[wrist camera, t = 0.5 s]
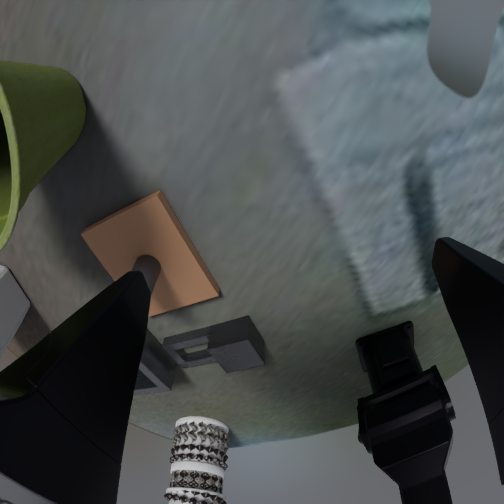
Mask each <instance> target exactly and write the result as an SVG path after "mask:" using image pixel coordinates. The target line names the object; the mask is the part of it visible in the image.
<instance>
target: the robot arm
mask: <svg viewBox="0 0 504 504" xmlns="http://www.w3.org/2000/svg"><path fill="white" fill-rule="evenodd" d="M432 268H433V271H434V274H435V277H436V279H437V282H438V285H439V288H440V291H441V294H442V297H443V300H444V302H445V305H446V308H447V310H448V313H449V315H450V317H451V320H452V322H453V324H454V327H455V329H456V332H457V334H458V336H459V339H460V341H461V344H462V347H463V349H464V352H465V354H466V357H467V360H468V362H469V365H470V368H471V370H472V374H473V376H474V379H475V382H476V385H477V388H478V391H479V395H480V398H481V401H482V404H483V407H484V411H485V414H486V418H487V422H488V424H489V430H490V434H491V438H492V442H493V446H494V450H495V455H496V459H497V464H498V470H499V475H500V480H501V484H502V485H504V264H503V263H501V262H499V261H497V260H495V259H493V258H491V257H489V256H487V255H485V254H483V253H481V252H479V251H477V250H475V249H473V248H471V247H469V246H467V245H465V244H462V243H460V242H458V241H456V240H454V239H452V238H450V237H443V238H438V239H437V240H436V242H435V247H434V252H433V257H432ZM150 301H151V293H150V290H149V287H148V285H147V282H146V280H145V277H144V275H143V273H142V271H140V270H135V271H128V272H127V273H125V274H124V275H123V276H121V277H120V278H119V279H117V280H116V281H115V282H113V283H112V284H111V285H110V286H108V287H107V288H106V289H104V290H103V291H102V292H100V293H99V294H98V295H97V296H95V297H94V298H93V299H91V300H90V301H89V302H88V303H86V304H85V305H84V306H83V307H81V308H80V309H79V310H78V311H76V312H75V313H74V314H73V315H71V316H70V317H69V318H68V319H66V320H65V321H64V322H63V323H61V324H60V325H59V326H58V327H57V328H55V329H54V330H53V331H52V332H51V334H48V335H47V336H46V337H44V338H43V339H42V340H41V341H39V342H38V343H37V344H36V345H35V346H33V347H32V348H31V349H30V350H28V351H27V352H26V353H24V354H23V355H22V356H21V357H19V358H18V359H17V360H15V361H14V362H13V363H11V364H10V365H9V366H7V367H6V368H5V369H3V370H2V371H1V372H0V504H116V502H117V493H118V486H119V478H120V470H121V462H122V455H123V450H124V443H125V437H126V431H127V426H128V420H129V415H130V410H131V404H132V399H133V394H134V389H135V384H136V380H137V375H138V370H139V366H140V361H141V357H142V353H143V348H144V344H145V339H146V332H147V324H148V316H149V309H150ZM356 345H357V349H358V353H359V357H360V361H361V364H362V368H363V372H367V373H368V376H369V380H370V384H371V388H372V392H373V394H372V395H369V396H367V397H364V398H363V397H362V398H359V399H358V406H357V411H358V421H359V432H358V440H359V442H360V443H362V444H364V446H365V447H366V450H367V451H368V453H370V454H371V453H372V455H373V459H374V462H375V464H376V465H377V466H378V467H379V468H380V469H381V470H382V471H384V472H385V473H386V474H387V475H388V476H389V477H390V478H391V479H392V480H393V481H395V482H396V483H397V484H398V486H399V490H400V495H401V500H402V504H452V500H451V495H450V490H449V486H448V482H447V477H446V474H445V468H446V465H447V462H448V458H449V455H450V451H451V448H452V444H453V429H452V426H451V423H450V421H452V420H453V419H455V418H456V417H455V412H454V409H453V405H452V402H451V399H450V397H449V394H448V392H447V389H446V387H445V385H444V382H443V380H442V378H441V376H440V373H439V371H438V369H437V367H436V365H434V366H432V367H431V368H430V369H428V370H426V371H423V370H422V367H421V365H420V362H419V359H418V357H417V354H416V352H415V350H414V330H413V323H412V322H411V321H407V322H405V323H402V324H399V325H397V326H394V327H391V328H388V329H386V330H383V331H380V332H377V333H374V334H371V335H368V336H365V337H362V338H359V339H357V340H356Z"/></svg>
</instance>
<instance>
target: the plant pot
mask: <svg viewBox="0 0 504 504" xmlns="http://www.w3.org/2000/svg"><path fill="white" fill-rule="evenodd" d="M85 117H86V106H85V102H84V98H83V94H82V90H81V86H80V84H79V83H78V81H77V80H76V79H75V78H74V77H73V76H72V75H71V74H70V73H69V72H67V71H65V70H63V69H60V68H55V67H50V66H43V65H35V64H27V63H20V62H12V61H1V60H0V251H1V250H2V249H3V248H4V246H5V245H6V244H7V242H8V240H9V239H10V237H11V235H12V232H13V230H14V227H15V224H16V221H17V217H18V213H19V211H20V210H21V208H22V207H23V205H24V204H25V202H26V200H27V198H28V196H29V193H30V192H31V191H32V190H33V189H34V188H35V186H36V185H37V184H38V183H39V182H40V180H41V179H42V178H43V177H44V176H45V175H46V174H47V172H48V171H49V170H50V169H51V168H52V167H53V166H54V165H55V164H56V163H57V162H58V161H59V160H60V159H61V157H62V156H63V155H64V154H65V153H66V152H67V151H68V150H69V149H70V148H71V147H72V146H73V145H74V144H75V142H76V141H77V139H78V138H79V136H80V134H81V132H82V129H83V126H84V122H85Z"/></svg>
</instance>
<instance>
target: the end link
mask: <svg viewBox="0 0 504 504" xmlns="http://www.w3.org/2000/svg"><path fill="white" fill-rule="evenodd" d="M176 363H177V362H176V361H175V360H174V359H173V358H172V357H171V356H170V355H169V353H168V352H167V351H166V350H165V349H164V348H163V347H162V345H161V344H160V343H159V341H158V340H157V339H156V338H155V337H154V336H153V335H152V334H151V332H150V331H149V330H148V329H147V332H146V339H145V344H144V348H143V353H142V357H141V361H140V366H139V370H138V375H137V380H136V384H135V389H134V394H133V395H142V394H150V393H158V392H165V391H171V389H172V383H173V378H174V373H175V368H176Z"/></svg>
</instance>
